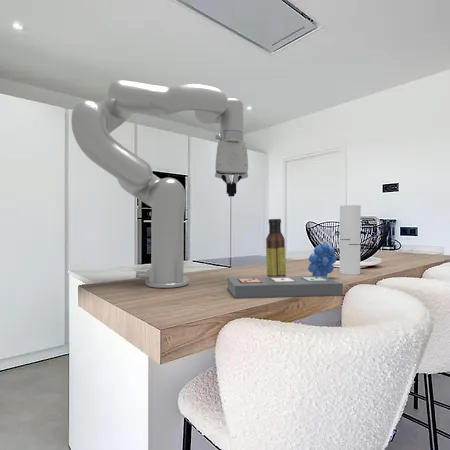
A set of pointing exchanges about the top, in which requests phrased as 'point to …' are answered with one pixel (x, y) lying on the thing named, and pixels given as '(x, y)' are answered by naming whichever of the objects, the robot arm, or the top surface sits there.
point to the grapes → (322, 260)
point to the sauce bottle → (275, 250)
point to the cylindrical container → (350, 239)
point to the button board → (283, 287)
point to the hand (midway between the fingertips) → (231, 196)
